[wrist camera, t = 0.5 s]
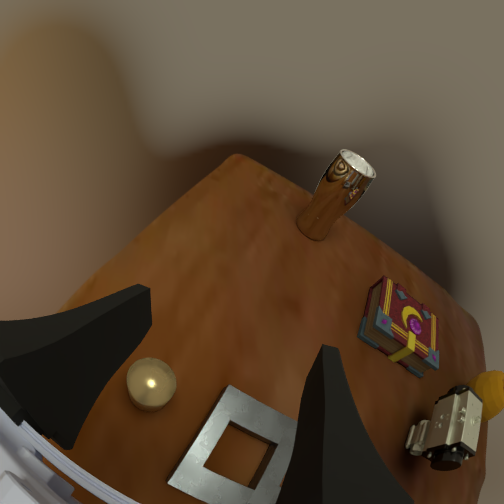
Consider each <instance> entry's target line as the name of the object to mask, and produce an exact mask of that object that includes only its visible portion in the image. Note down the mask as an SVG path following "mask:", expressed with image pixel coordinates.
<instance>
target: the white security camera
mask: <svg viewBox="0 0 504 504" xmlns="http://www.w3.org/2000/svg"><path fill="white" fill-rule="evenodd" d="M482 404H483V400H482V399H481V398H480V397H479V396H478V395H477V394H476V393H475V392H474V391H473V389H472V388H471V387H470V386H467V385H459V386H455V387H453V388H451V389H450V390H449V391H448V393H447V394H446V395H444V396H441V397H439V400H438V401H435V406H434V410H433V415H432V419H431V421H429V420H422V421H420V422H419V423H418V425H417V426H415V425H413V426H412V427H410V431H409V434H408V437H407V440H406V443H405V446H406V447H405V448H406V449H408V448H410V451H409V452H410V454H412V455H417V456H418V455H421V456H423V457H425V458H426V459H428V460H430V461H431V465H430V467H431V468H432V469H435V470H439V471H449V470H454V469H457V468H459V467H460V466H461V464H462V460H463V459H464V460H467V459H468V458H469V457H472V456H475V452H476V447H477V441H478V435H479V429H480V422H481V413H482Z"/></svg>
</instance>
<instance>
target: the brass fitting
mask: <svg viewBox="0 0 504 504" xmlns="http://www.w3.org/2000/svg"><path fill="white" fill-rule="evenodd" d="M127 386H128V392H129V397H130V399H131V401H132V403H133V404H134V405H135V406H136V407H137V408H138V409H140V410H142V411H145V412H156V411H159V410H160V409H162V408H163V407H164V406H165V405H166V404H167V402H168V401H169V400H170V399H171V397H172V396H173V394H174V392H175V389H176V378H175V375H174V373H173V371H172V369H171V368H170V367H169V366H168V365H167V364H166V363H164V362H163V361H161V360H159V359H155V358H143V359H140V360H138V361H136V362H135V363H134V364H133V365H132V366H131V367H130V369H129V371H128V374H127Z"/></svg>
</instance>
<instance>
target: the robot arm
mask: <svg viewBox="0 0 504 504" xmlns="http://www.w3.org/2000/svg"><path fill="white" fill-rule="evenodd" d="M151 326H152V315H151V297H150V288H148V287H145V286H143V285H140V284H136V285H133V286H131V287H128V288H126V289H123V290H121V291H118V292H116V293H114V294H111V295H109V296H106V297H104V298H101V299H99V300H96V301H94V302H91V303H88V304H86V305H83V306H80V307H77V308H75V309H71V310H68V311H65V312H61V313H57V314H53V315H49V316H44V317H39V318H33V319H25V320H13V321H0V504H82V503H81V502H79V501H78V500H76V499H75V498H74V497H72V496H71V494H72V492H73V491H74V490H75V489H74V487H73V486H72V485H70V484H69V483H68V482H66V481H65V480H64V479H63V478H61V477H60V476H59V475H58V474H56V473H55V472H54V471H53V470H51V469H50V468H49V467H48V466H47V465H45V464H44V463H43V461H42V455H43V456H44V457H45V458H46V459H47V460H48V461H50V462H51V463H52V464H53V465H54V466H56V467H57V468H58V469H59V470H61V471H62V472H63V473H64V474H66V475H67V476H68V477H70V478H71V479H72V480H74V481H75V482H76V483H78V484H79V485H81V486H82V487H83V488H85V489H86V490H88V491H89V492H91V493H92V494H94V495H95V496H97V497H98V498H100V499H102V500H103V501H105V502H106V503H108V504H140V503H138V502H136V501H134V500H132V499H130V498H128V497H127V496H125V495H123V494H121V493H120V492H118V491H116V490H114V489H113V488H111V487H109V486H108V485H106V484H105V483H103V482H101V481H100V480H98V479H97V478H95V477H94V476H92V475H91V474H89V473H88V472H86V471H85V470H83V469H82V468H81V467H79V466H78V465H76V464H75V463H74V462H72V461H71V460H70V459H68V458H67V457H66V456H65V455H63V454H62V453H61V452H60V451H58V450H57V449H56V448H55V447H53V446H52V445H51V444H50V443H49V442H47V441H46V440H45V439H44V438H43V437H42V436H41V435H42V434H43V435H44V436H45V437H47V438H48V439H50V438H51V439H52V440H53V441H55V442H56V443H57V444H58V445H59V446H61V447H62V448H63V449H65V450H70V449H73V446H74V443H75V441H76V439H77V436H78V434H79V432H80V429H81V427H82V425H83V423H84V421H85V419H86V417H87V415H88V413H89V412H90V410H91V408H92V406H93V405H94V403H95V401H96V399H97V398H98V396H99V395H100V393H101V391H102V390H103V388H104V387H105V385H106V384H107V382H108V381H109V380H110V378H111V377H112V376H113V375H114V373H115V372H116V371H117V370H118V369H119V368H120V366H121V365H122V364H123V363H124V362H125V361H126V359H127V358H128V357H129V356H130V355H131V354H132V352H133V351H134V350H135V349H136V348H137V346H138V345H139V344H140V343H141V341H142V340H143V338H144V337H145V335H146V334H147V332H148V330H149V329H150V327H151ZM41 454H42V455H41ZM275 504H414V501H413V500H412V498H411V497H410V496H409V495H408V494H407V493H406V492H405V490H404V489H403V488H402V487H401V486H400V485H399V483H398V482H397V481H396V479H395V478H394V477H393V475H392V474H391V473H390V471H389V470H388V468H387V467H386V465H385V463H384V462H383V460H382V459H381V457H380V455H379V454H378V452H377V451H376V449H375V447H374V445H373V443H372V441H371V439H370V438H369V435H368V433H367V431H366V429H365V427H364V425H363V423H362V420H361V418H360V416H359V413H358V411H357V408H356V405H355V403H354V400H353V397H352V394H351V391H350V388H349V385H348V382H347V379H346V375H345V372H344V368H343V364H342V360H341V356H340V352H339V350H338V348H335V347H331V346H327V345H324V344H322V346H321V349H320V351H319V353H318V355H317V357H316V359H315V361H314V364H313V366H312V368H311V370H310V372H309V374H308V376H307V378H306V382H305V386H304V390H303V394H302V398H301V403H300V410H299V416H298V423H297V429H296V435H295V441H294V447H293V452H292V456H291V459H290V463H289V466H288V469H287V472H286V475H285V478H284V481H283V484H282V487H281V490H280V493H279V495H278V498H277V501H276V503H275Z"/></svg>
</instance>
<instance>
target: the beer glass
mask: <svg viewBox="0 0 504 504" xmlns="http://www.w3.org/2000/svg"><path fill="white" fill-rule="evenodd" d="M375 177H376V173H375V171H374V169H373V168H372V167H371V165H370V164H369V163H368V162H367V161H365V160H364V159H363V158H362V157H360V156H359V155H357V154H356V153H354V152H352V151H349V150H346V149H342V150H341V151H340V152H339V154H338V155H337V156H336V157H335V159H334V160H333V161H332V162H331V164H330V165H329V167H328V168H327V169H326V171H325V173H324V174H323V176H322V178H321V180H320V182H319V184H318V186H317V188H316V191H315V193H314V196H313V198H312V200H311V202H310V204H309V205H308V207H307V208H306V209H305V210H304V211H303V212H302V213H301V214H300V215H299V216H298V217H297V220H296V222H297V226H298V228H299V229H300V231H301V232H302V233H303V234H304V235H305V236H307V237H308V238H310V239H313V240H317V241H320V240H323V239H324V238H325V237H326V236H327V234H328V232H329V230H330V228H331V226H332V225H333V224H334V223H335V221H336V220H338V219H339V218H340V217H341V216H342V215H343V214H345V213H346V212H347V211H348V210H349V209H350V208H351V207H353V206H354V205H355V204H356V203H357V202H358V200H359V199H360V198H361V197H362V196H363V194H364V193H365V191H366V190H367V188H368V187H369V186H370V184H371V182H372V181H373V179H374V178H375Z"/></svg>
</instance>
